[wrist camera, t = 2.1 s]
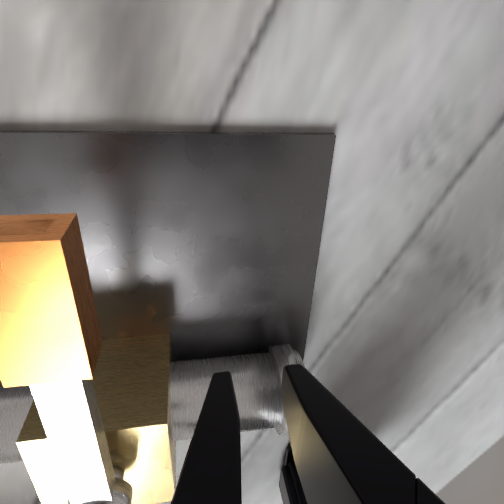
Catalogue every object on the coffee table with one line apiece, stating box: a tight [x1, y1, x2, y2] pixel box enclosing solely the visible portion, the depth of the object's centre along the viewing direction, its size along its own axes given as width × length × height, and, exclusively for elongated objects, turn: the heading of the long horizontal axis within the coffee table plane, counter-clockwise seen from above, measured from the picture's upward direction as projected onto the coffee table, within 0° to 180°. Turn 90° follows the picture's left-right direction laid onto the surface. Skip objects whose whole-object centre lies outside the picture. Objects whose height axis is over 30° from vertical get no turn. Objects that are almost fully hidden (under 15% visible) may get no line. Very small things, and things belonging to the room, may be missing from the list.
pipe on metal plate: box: [0, 131, 336, 504], centre depth 19 cm, size 24×22×7 cm
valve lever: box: [0, 213, 133, 504], centre depth 14 cm, size 15×3×2 cm, turn 178°
